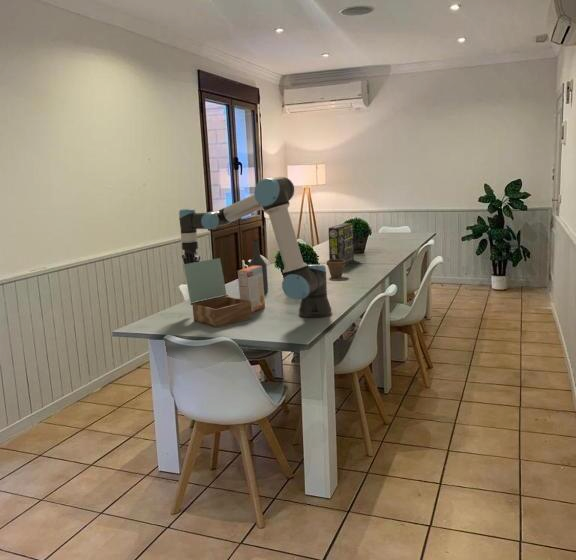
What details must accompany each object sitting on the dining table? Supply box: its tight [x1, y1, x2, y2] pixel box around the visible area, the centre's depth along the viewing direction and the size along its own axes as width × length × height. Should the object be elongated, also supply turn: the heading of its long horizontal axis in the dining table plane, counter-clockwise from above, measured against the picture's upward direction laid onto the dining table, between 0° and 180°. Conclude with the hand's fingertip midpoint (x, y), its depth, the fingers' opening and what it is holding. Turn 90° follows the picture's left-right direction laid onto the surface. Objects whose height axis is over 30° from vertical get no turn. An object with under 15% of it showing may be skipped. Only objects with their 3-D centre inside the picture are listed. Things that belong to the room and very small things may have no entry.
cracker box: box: [237, 266, 266, 314], centre depth 282 cm, size 14×6×21 cm, turn 152°
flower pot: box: [326, 259, 346, 279], centre depth 355 cm, size 12×11×10 cm
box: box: [328, 222, 355, 266], centre depth 398 cm, size 34×7×27 cm, turn 157°
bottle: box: [247, 238, 269, 294], centre depth 321 cm, size 10×10×30 cm
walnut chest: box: [190, 294, 253, 328], centre depth 268 cm, size 19×21×9 cm
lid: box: [183, 257, 228, 303], centre depth 274 cm, size 18×20×1 cm
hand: (193, 289), depth 284 cm, fingers closed
